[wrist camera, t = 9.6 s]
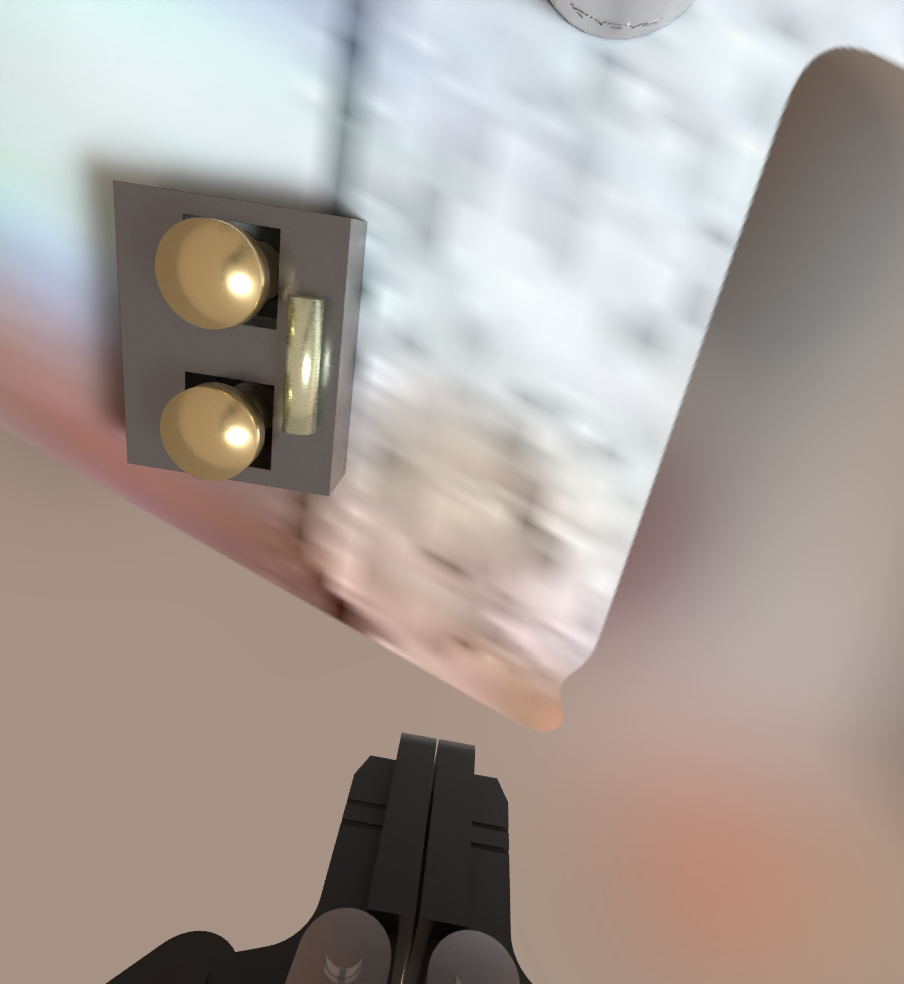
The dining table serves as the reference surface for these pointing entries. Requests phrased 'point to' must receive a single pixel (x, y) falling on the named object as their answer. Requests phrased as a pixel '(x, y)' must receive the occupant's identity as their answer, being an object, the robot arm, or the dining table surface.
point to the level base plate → (246, 335)
